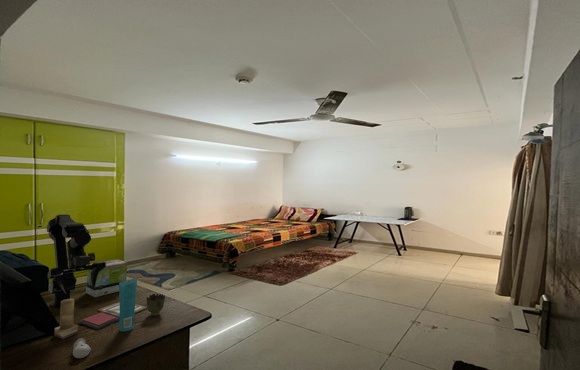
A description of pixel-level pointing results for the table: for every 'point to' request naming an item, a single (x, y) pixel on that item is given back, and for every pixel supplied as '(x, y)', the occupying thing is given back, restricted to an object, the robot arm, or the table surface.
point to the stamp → (66, 320)
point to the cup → (155, 304)
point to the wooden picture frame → (115, 309)
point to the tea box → (107, 278)
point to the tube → (127, 303)
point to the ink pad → (99, 320)
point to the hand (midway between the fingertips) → (80, 290)
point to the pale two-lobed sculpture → (80, 348)
